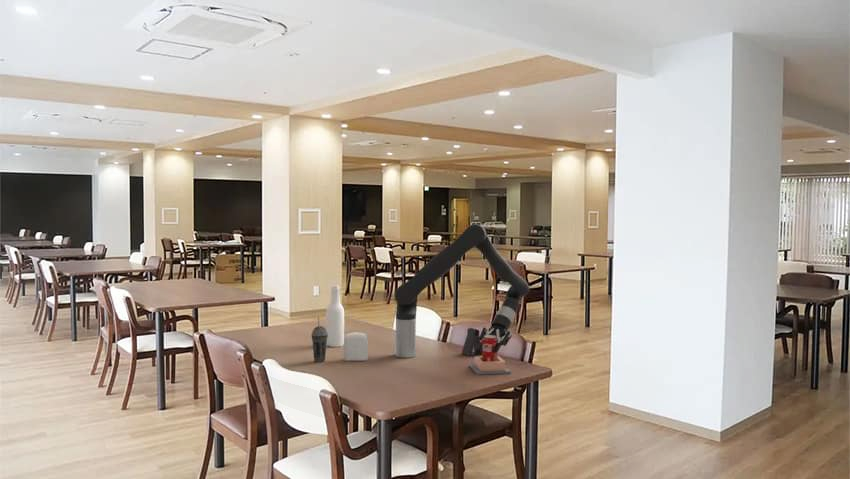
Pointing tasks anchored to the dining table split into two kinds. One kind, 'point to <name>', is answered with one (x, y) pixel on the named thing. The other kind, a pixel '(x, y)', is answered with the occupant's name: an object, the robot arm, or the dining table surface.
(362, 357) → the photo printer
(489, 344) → the beverage can
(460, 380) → the dining table surface
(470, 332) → the phone stand
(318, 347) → the beverage cup
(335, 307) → the alcohol
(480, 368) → the holder
